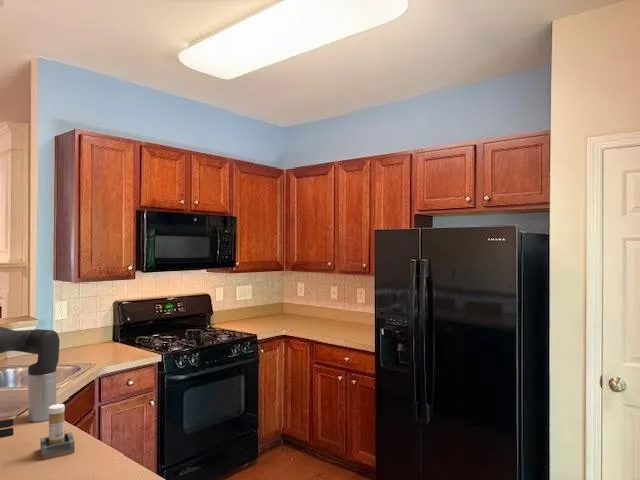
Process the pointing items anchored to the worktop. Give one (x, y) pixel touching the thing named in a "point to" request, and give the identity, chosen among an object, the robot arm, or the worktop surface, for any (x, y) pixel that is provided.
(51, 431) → the sprinkles bottle
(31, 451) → the worktop surface
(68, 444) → the socket jig
